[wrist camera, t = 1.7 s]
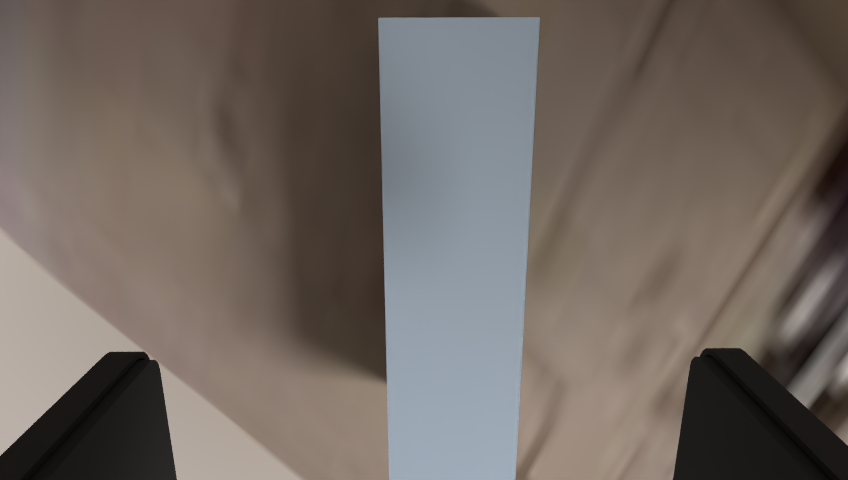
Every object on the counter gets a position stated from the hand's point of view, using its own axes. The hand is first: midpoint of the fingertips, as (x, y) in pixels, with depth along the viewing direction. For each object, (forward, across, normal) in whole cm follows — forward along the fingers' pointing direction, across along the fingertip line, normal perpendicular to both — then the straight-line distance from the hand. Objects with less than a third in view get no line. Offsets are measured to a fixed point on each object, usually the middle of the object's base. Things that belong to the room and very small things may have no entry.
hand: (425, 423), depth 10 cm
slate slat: (+13, -1, 0) cm, 13 cm away
